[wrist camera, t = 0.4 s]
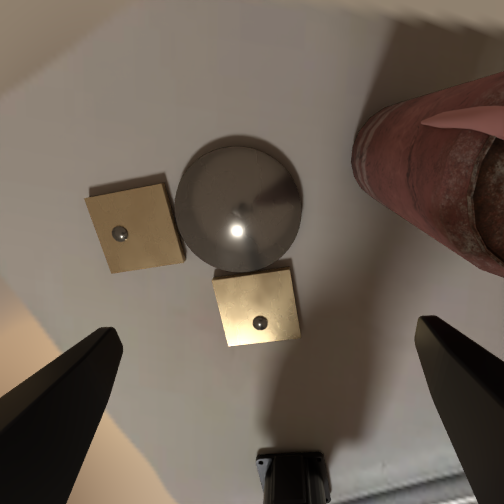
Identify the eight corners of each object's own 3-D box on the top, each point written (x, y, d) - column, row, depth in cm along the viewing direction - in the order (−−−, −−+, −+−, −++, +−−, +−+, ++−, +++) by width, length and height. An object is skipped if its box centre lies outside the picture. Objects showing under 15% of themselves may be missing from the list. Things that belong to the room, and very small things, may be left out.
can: (372, 86, 20) (554, -18, 6) (466, 123, 20) (831, 95, 7) (330, 180, 22) (404, 247, 9) (416, 213, 22) (617, 326, 9)
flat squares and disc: (319, 331, 26) (320, 336, 25) (144, 351, 28) (140, 356, 27) (290, 134, 21) (290, 133, 20) (81, 177, 23) (75, 178, 22)
